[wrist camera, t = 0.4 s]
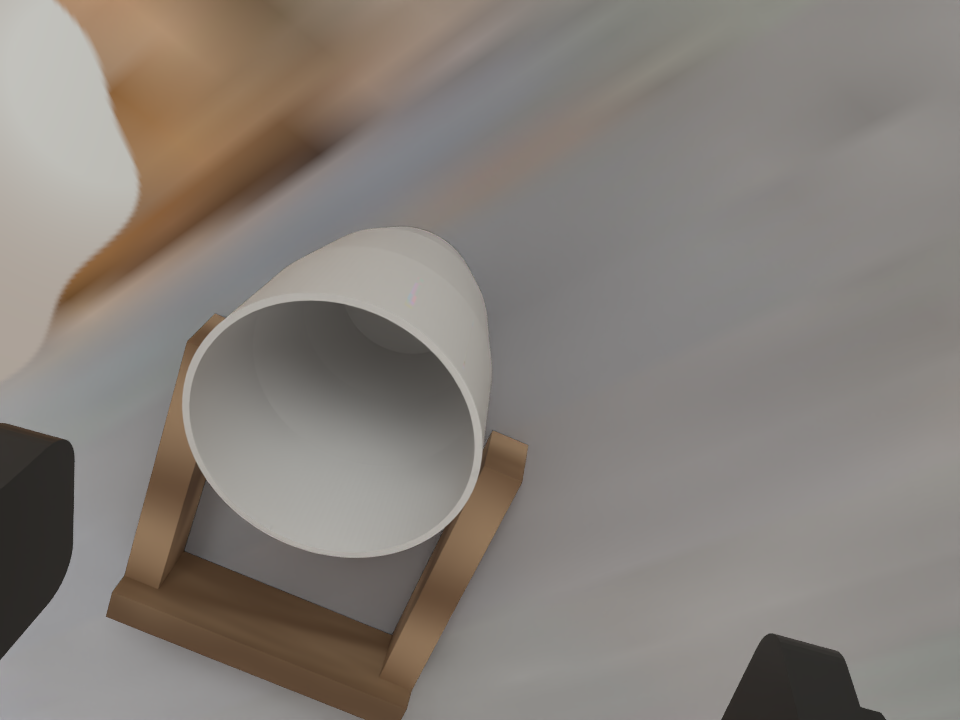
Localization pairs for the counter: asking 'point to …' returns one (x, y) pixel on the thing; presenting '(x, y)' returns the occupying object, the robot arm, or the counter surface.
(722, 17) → the counter surface
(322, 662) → the wooden frame
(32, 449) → the robot arm
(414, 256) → the cup
